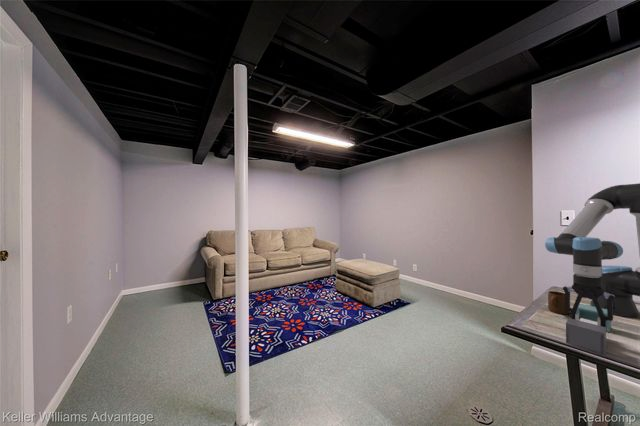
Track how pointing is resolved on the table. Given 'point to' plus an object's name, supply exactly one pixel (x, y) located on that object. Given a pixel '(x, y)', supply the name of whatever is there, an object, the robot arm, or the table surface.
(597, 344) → the charcoal cap
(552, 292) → the mug
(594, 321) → the slat
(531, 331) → the table surface
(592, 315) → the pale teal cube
